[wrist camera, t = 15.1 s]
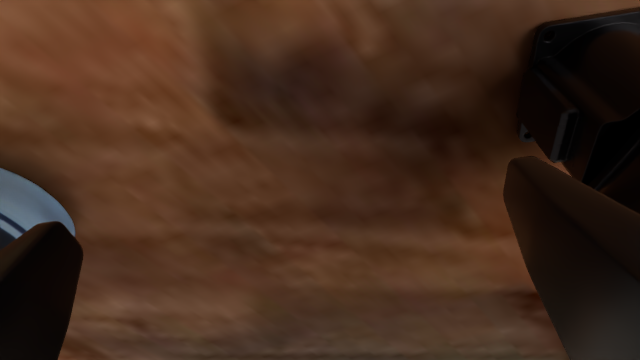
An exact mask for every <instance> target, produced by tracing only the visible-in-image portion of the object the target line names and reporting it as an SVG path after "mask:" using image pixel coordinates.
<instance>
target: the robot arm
mask: <svg viewBox="0 0 640 360" xmlns="http://www.w3.org/2000/svg"><path fill="white" fill-rule="evenodd" d="M548 31H551V34H550V35H549V36H548V37H547V38H544V35H545V34H546V33H547V32H548ZM517 117H518V118H519V122H518V127H517V136H518V137H519V139H520V140H521V141H523V142H532V141H536V143H537V144H538V145H539V147H540V148H541V149H542V151H543V152H544V154H545V155H546V156H547V158H548V159H549V160H551V161H552V162H553V163H557V162H561V163H562V164H563V166H564V167H565V168H566V170H567V171H568V172H569V174H570V175H571V176H572V177H571V176H569V175H568V174H566V173H564V172H562V171H560V170H558V169H557V168H555V167H553V166H551V165H549V164H548V163H546V162H544V161H542V160H540V159H538V158H536V157H534V156H528V157H521V158H514V159H512V160H510V162H509V164H508V168H507V173H506V179H505V185H504V191H503V196H504V202H505V205H506V208H507V211H508V214H509V217H510V220H511V223H512V226H513V229H514V232H515V235H516V238H517V241H518V244H519V247H520V250H521V253H522V256H523V259H524V262H525V264H526V267H527V270H528V272H529V274H530V277H531V279H532V281H533V283H534V286H535V288H536V290H537V292H538V294H539V296H540V298H541V300H542V302H543V304H544V306H545V308H546V311H547V313H548V315H549V317H550V319H551V321H552V323H553V325H554V327H555V329H556V331H557V333H558V336H559V338H560V340H561V342H562V344H563V346H564V348H565V350H566V352H567V354H568V356H569V359H570V360H640V8H633V9H627V10H621V11H614V12H608V13H602V14H596V15H589V16H583V17H577V18H571V19H564V20H558V21H552V22H547V23H544V24H542V25H541V26H539V27H538V29H537V30H536V32H535V35H534V40H533V46H532V51H531V57H530V62H529V67H528V69H527V70H526V71H525V73H524V75H523V80H522V86H521V91H520V97H519V103H518V108H517ZM526 132H529V133H528V134H525V133H526ZM82 261H83V249H82V247H81V245H80V244H79V242H78V241H77V240H76V239H75V237H74V236H73V235H72V234H71V233H70V231H69V230H68V229H67V228H66V226H65V225H64V224H63V223H61V222H59V221H51V222H44V223H39V224H36V225H35V226H33V227H32V228H30V229H29V230H28V231H26V232H25V233H24V234H22V235H21V236H19V237H18V238H17V239H15V240H14V241H13V242H11V243H10V244H8V245H7V246H6V247H4V248H3V249H2V250H0V360H58V357H59V353H60V350H61V347H62V344H63V341H64V338H65V335H66V332H67V328H68V325H69V321H70V317H71V312H72V308H73V303H74V298H75V294H76V289H77V284H78V280H79V275H80V270H81V265H82Z"/></svg>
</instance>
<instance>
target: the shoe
mask: <svg viewBox="0 0 640 360" xmlns="http://www.w3.org/2000/svg"><path fill="white" fill-rule="evenodd" d="M51 221H59V222H61V223H63V224H64V225H65V226H66V228H67V229H68V230H69V231H70V233H71V234H72V235H73V236H74V237H75V227H74V224H73V221H72V219H71V217H70V216H69V214H68V213H67V211H66V210H65V209H64V207H63V206H62V205H61V204H60V203H59V202H58V201H57V200H56V199H55V198H53V197H52V196H51V195H49V194H48V193H47V192H46V191H45V190H43V189H42V188H40V187H39V186H38V185H36V184H34V183H33V182H31V181H29V180H27V179H25V178H23V177H21V176H19V175H17V174H15V173H13V172H10V171H8V170H5V169H2V168H0V250H2V249H3V248H4V247H6V246H7V245H8V244H10V243H11V242H13V241H14V240H15V239H17V238H18V237H19V236H21V235H22V234H24V233H25V232H26V231H28V230H29V229H30V228H32V227H33V226H35V225H36V224H39V223H44V222H51Z"/></svg>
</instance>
